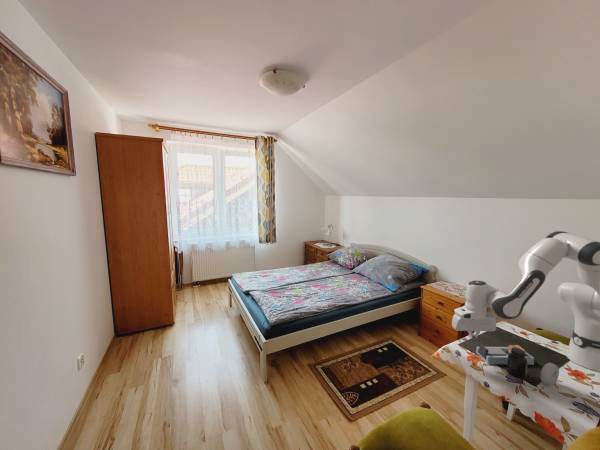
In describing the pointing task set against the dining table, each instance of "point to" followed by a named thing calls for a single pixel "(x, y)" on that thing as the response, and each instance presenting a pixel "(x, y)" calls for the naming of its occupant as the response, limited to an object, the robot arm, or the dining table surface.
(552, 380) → the donut
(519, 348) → the block
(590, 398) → the dining table surface
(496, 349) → the grey block
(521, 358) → the supplement bottle
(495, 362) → the channel
